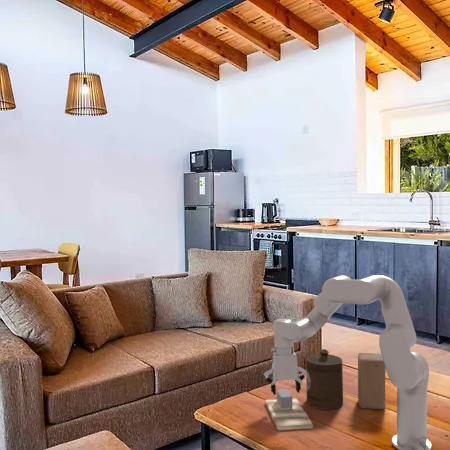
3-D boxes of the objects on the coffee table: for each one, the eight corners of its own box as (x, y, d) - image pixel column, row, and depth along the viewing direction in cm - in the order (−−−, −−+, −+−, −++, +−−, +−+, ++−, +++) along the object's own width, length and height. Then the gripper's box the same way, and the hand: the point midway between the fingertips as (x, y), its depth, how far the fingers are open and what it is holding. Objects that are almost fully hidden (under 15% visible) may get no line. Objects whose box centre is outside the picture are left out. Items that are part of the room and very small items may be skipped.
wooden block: (385, 410, 197) (385, 360, 196) (359, 408, 199) (359, 359, 198) (382, 400, 207) (382, 353, 206) (357, 398, 209) (357, 351, 208)
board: (312, 428, 183) (312, 424, 183) (277, 430, 181) (277, 426, 181) (296, 401, 207) (296, 398, 206) (265, 403, 205) (265, 400, 205)
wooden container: (314, 392, 216) (313, 342, 215) (347, 399, 208) (347, 347, 207) (301, 405, 203) (300, 352, 202) (336, 412, 196) (336, 357, 194)
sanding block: (292, 409, 196) (292, 396, 195) (281, 409, 195) (281, 397, 195) (287, 401, 204) (287, 389, 203) (276, 401, 203) (276, 389, 203)
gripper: (264, 354, 194) (266, 398, 194) (307, 351, 196) (309, 394, 196) (261, 349, 201) (263, 391, 202) (302, 346, 203) (304, 387, 204)
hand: (286, 392), depth 199 cm, fingers open, 9 cm apart
